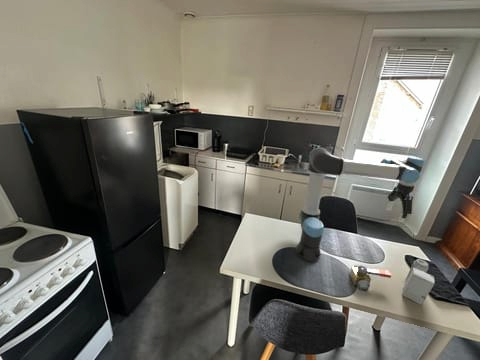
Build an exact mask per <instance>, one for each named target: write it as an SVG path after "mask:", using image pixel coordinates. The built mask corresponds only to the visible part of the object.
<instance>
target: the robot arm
mask: <svg viewBox="0 0 480 360" xmlns="http://www.w3.org/2000/svg"><path fill="white" fill-rule="evenodd" d="M308 161H309V163H308V169H307V170H308V172H309V178H308V183H307V189H306V190H307V191H306V195H305V201H304V202H305V203H304V206H302V207H301V210H300V213H299V216H298V217H299V223H300V229H301V235H300V239H299V242H298V243H297V245H296V246H295V251H294V252H295V255H296V254H297V255H296V256H297V257H298V258H299V259H300V260H302V261H304V262H306V263H316V262H319V261H320V258H321V248H320V246H321V242H322V238H323V234H324V230H325V226H324V224H323V222H322V221H321V220H320V215H321V210H320V208H319V207H320V202H321V198H322V197H321V196H322V192H323V186H324V182H325V177H326V175H329V176H341V175H346V176H347V175H349V176H359V177H366V178H375V179H385V180H395V181H398V183H397V184H396V185H397V186H395V187H394V188H393V190H392V191H391V192H390V193H389V194H388V195H387V197H386V198H387V199H388V202H387V205H386V208H385V211H389V212H392V210H393V208H394V207H393V206H394V204H395V201H396V200H398V199H400V202H401V207H402V211H401V213H400V215H399V218H398V221H397V222H398V223H405V220H406V218H407V217H408V215H411V214H412V212H413V211H412V210H413V200H414V196H412V195H410V193H413V192H414V189H415V186H416V184H417V182H418V181H419V179H420V177H421V172H422V169H423V167H424V164H425V160H424V158H421V157H417V156H408V157H407V158H406V159H405V160H404V159H394V158H384V159H382V160H381V162H380V163H379V162H370V161H361V160H353V159H352V160H351V159H350V160H349V159H344V157H339V156H335V155H332V153H330V152H329V150H328V149H326V148H324V147H316V148H314V149H312V150H311V151H310V152H309V155H308Z"/></svg>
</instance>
